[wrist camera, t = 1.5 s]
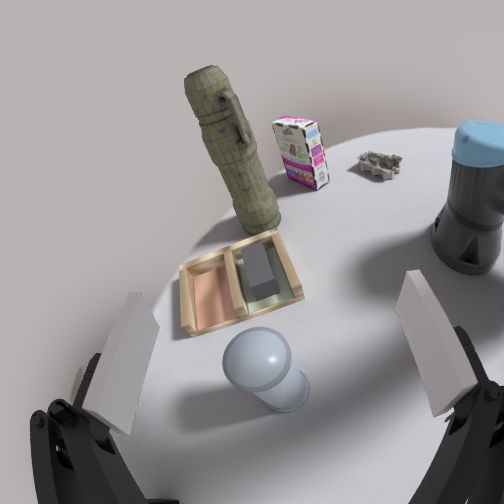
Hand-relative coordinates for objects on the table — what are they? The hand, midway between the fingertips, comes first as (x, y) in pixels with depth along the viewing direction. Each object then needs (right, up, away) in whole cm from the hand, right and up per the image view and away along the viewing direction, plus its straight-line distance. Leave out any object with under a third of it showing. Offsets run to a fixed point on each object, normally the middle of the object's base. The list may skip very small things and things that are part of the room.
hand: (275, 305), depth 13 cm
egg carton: (+31, +23, +48) cm, 61 cm away
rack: (-3, -4, +37) cm, 37 cm away
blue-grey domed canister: (+4, -17, +22) cm, 27 cm away
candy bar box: (+13, +21, +53) cm, 59 cm away
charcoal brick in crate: (+1, -2, +35) cm, 35 cm away
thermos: (+1, +9, +48) cm, 48 cm away
